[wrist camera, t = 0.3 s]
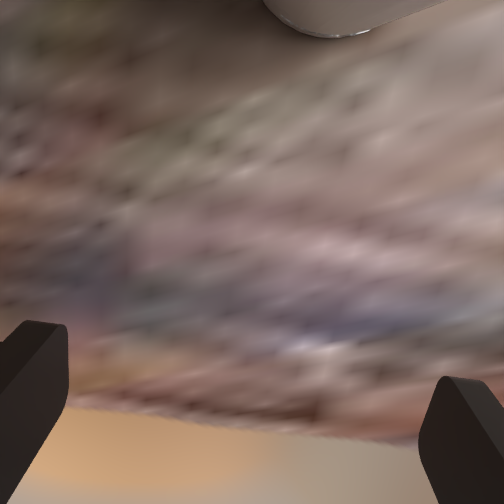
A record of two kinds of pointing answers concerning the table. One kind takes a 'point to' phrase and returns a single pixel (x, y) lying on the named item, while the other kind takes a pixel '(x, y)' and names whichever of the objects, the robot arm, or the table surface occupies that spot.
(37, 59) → the table surface
